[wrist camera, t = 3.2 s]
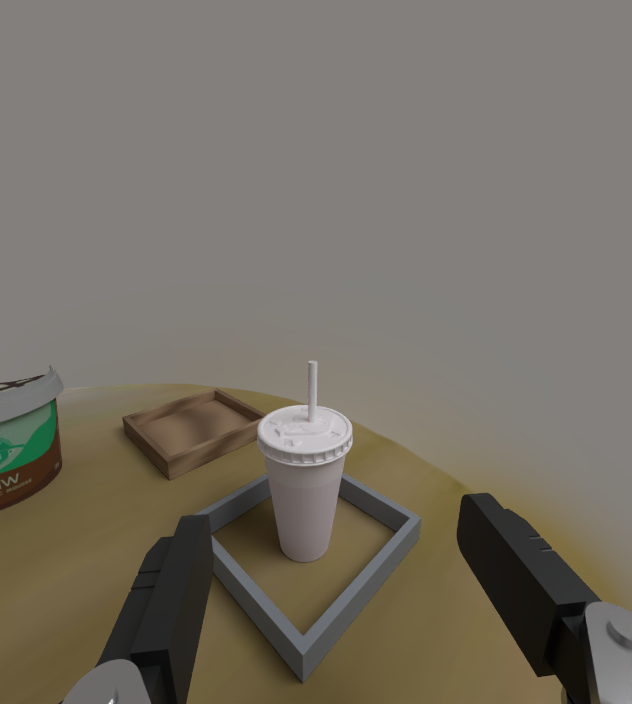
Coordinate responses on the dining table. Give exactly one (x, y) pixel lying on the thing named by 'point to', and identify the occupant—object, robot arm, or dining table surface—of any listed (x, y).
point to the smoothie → (305, 471)
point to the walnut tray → (193, 430)
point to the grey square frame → (338, 617)
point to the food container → (28, 436)
